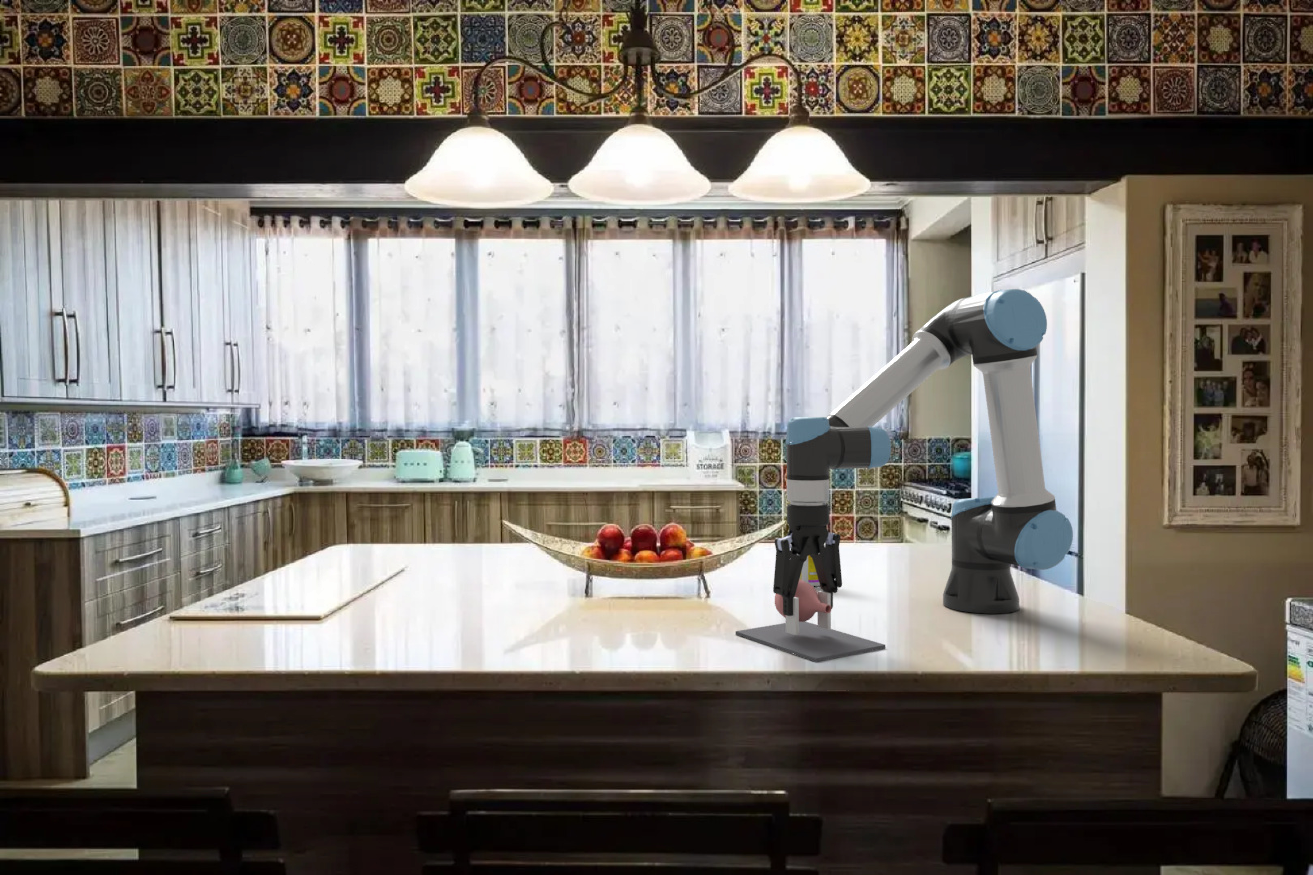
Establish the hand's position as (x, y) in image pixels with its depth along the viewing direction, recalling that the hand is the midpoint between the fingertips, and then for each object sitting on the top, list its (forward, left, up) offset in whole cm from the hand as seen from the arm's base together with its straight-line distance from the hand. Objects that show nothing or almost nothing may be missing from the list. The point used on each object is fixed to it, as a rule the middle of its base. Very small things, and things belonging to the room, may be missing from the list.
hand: (808, 630), depth 161 cm
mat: (0, 0, -2) cm, 2 cm away
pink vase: (+6, -3, +5) cm, 8 cm away
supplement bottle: (+17, -51, -2) cm, 54 cm away
